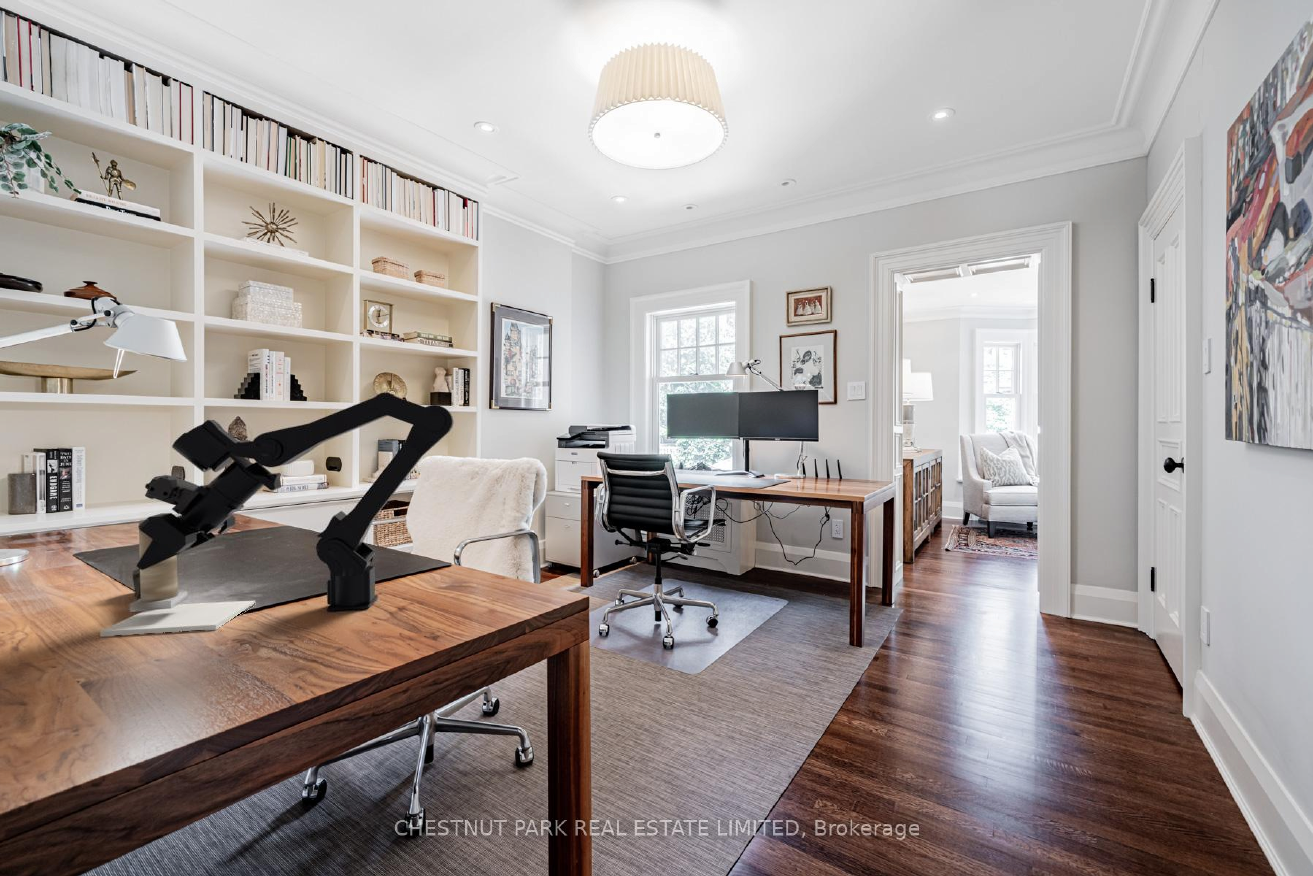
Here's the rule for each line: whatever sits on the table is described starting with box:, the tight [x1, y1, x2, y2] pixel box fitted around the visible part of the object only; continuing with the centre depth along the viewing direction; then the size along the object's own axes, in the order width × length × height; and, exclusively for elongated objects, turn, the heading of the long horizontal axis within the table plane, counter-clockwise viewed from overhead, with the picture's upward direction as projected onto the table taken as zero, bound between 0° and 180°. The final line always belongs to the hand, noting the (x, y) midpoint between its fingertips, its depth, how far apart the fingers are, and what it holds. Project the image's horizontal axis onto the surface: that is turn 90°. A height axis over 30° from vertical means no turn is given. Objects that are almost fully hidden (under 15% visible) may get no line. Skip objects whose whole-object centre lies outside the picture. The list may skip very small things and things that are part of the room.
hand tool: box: [132, 568, 141, 600], centre depth 100 cm, size 19×4×5 cm, turn 45°
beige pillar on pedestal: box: [129, 518, 188, 613], centre depth 90 cm, size 5×5×14 cm
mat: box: [99, 600, 256, 638], centre depth 91 cm, size 15×12×1 cm
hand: (148, 564), depth 89 cm, fingers closed on beige pillar on pedestal, 4 cm apart
